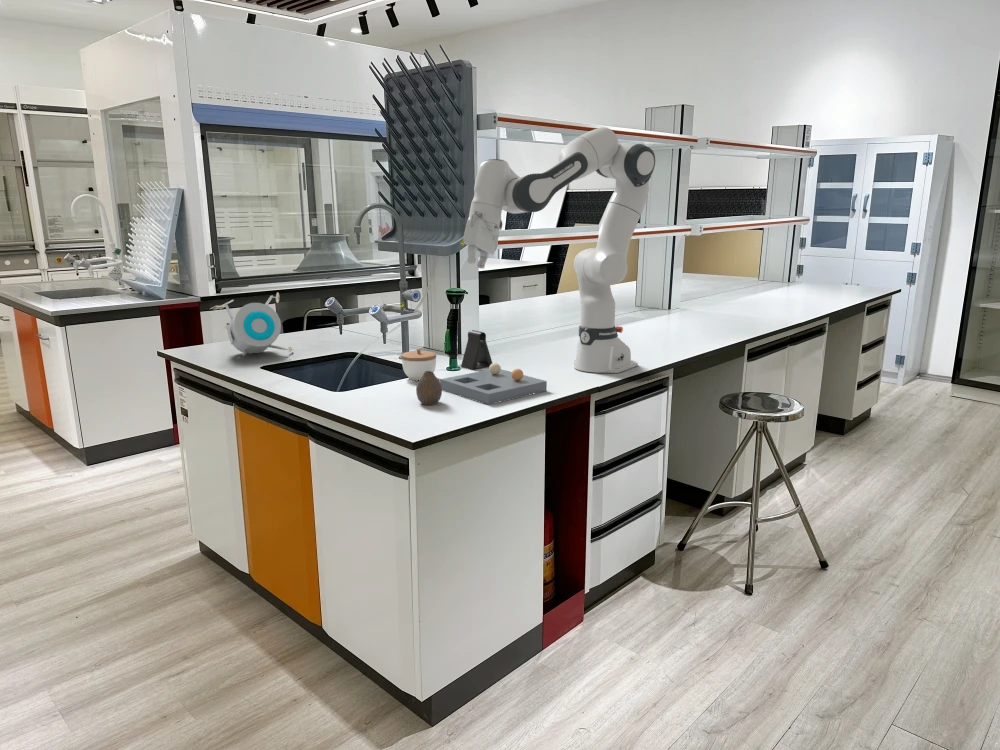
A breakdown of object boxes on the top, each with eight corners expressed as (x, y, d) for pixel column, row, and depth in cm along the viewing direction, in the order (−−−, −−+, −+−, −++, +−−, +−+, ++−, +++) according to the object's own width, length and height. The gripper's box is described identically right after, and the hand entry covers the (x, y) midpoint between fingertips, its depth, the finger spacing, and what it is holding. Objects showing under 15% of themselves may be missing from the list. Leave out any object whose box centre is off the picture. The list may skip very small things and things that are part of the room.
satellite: (271, 301, 264) (202, 312, 251) (284, 286, 248) (211, 296, 234) (287, 358, 263) (219, 372, 250) (301, 346, 247) (229, 360, 233)
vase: (443, 399, 192) (443, 369, 190) (440, 406, 186) (439, 375, 183) (419, 399, 193) (418, 368, 191) (414, 406, 186) (413, 374, 184)
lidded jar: (431, 373, 223) (430, 344, 221) (441, 380, 213) (440, 350, 211) (398, 376, 219) (397, 347, 217) (407, 384, 210) (406, 353, 207)
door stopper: (481, 363, 237) (481, 328, 235) (493, 366, 233) (493, 331, 230) (461, 367, 232) (460, 331, 229) (472, 370, 227) (471, 334, 224)
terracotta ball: (517, 378, 204) (517, 366, 203) (525, 380, 201) (525, 368, 200) (508, 380, 201) (508, 368, 201) (516, 382, 199) (517, 370, 198)
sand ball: (495, 372, 211) (495, 361, 210) (503, 374, 208) (503, 363, 208) (486, 374, 209) (486, 363, 208) (494, 376, 206) (494, 364, 205)
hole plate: (497, 377, 217) (496, 368, 217) (546, 391, 201) (546, 381, 201) (440, 389, 203) (440, 379, 203) (488, 404, 187) (488, 394, 187)
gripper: (485, 210, 184) (475, 262, 185) (504, 225, 204) (495, 272, 205) (463, 207, 185) (453, 258, 186) (483, 222, 205) (475, 268, 206)
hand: (475, 265), depth 196 cm, fingers open, 8 cm apart
